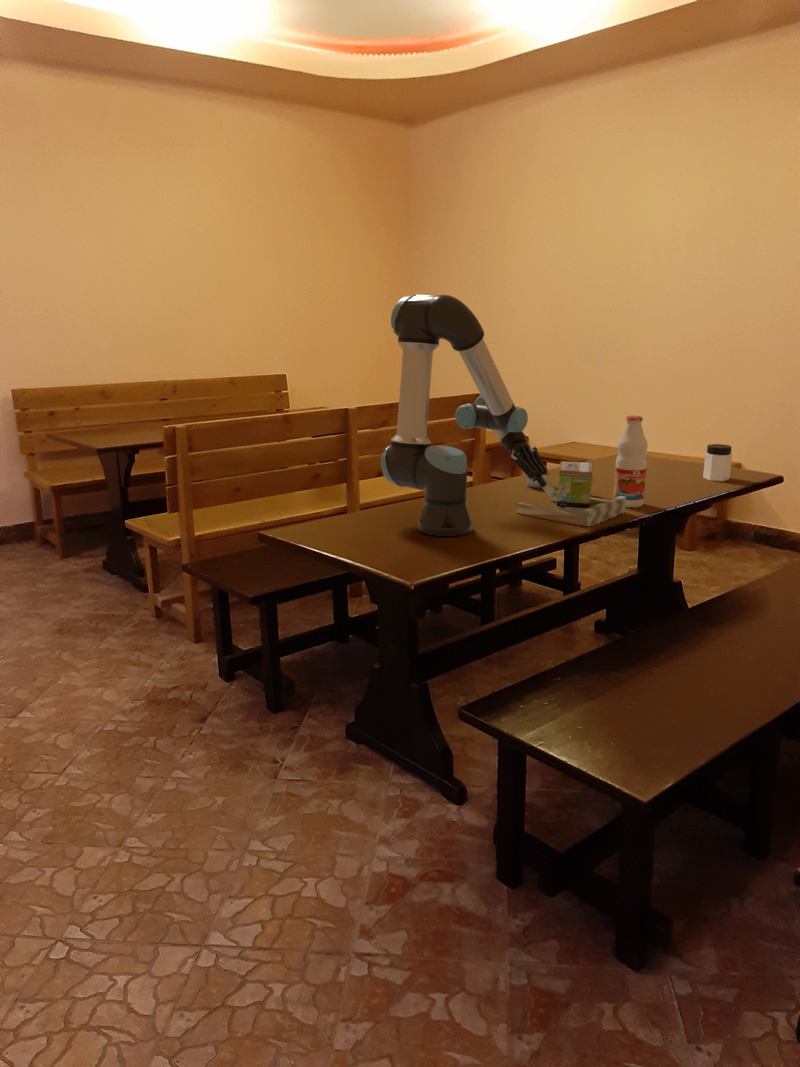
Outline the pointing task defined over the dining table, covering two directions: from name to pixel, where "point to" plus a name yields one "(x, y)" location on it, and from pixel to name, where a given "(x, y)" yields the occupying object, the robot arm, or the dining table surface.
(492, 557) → the dining table surface
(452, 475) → the robot arm
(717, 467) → the jar
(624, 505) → the chute
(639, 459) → the fruit juice
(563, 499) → the tea box
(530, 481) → the cupcake
